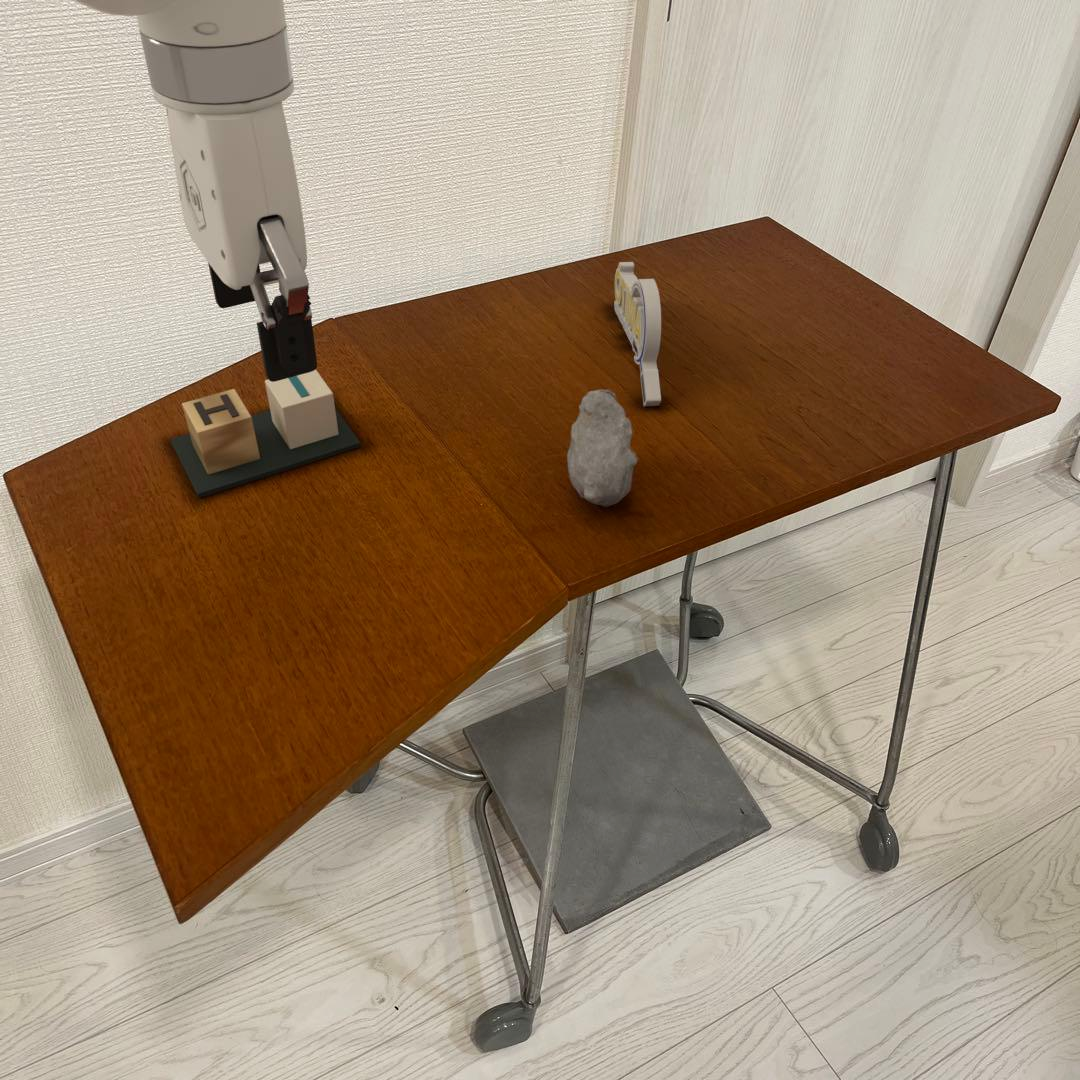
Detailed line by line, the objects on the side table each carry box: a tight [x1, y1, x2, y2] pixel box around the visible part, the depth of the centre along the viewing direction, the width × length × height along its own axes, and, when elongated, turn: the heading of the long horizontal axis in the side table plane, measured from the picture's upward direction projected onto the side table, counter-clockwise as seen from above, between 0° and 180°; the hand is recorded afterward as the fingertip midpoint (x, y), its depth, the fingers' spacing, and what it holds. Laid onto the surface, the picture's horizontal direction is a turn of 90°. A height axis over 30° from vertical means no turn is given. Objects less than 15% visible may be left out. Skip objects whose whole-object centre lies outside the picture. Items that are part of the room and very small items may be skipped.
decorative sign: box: [613, 261, 662, 407], centre depth 96 cm, size 18×1×10 cm, turn 6°
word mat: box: [169, 407, 361, 499], centre depth 86 cm, size 14×8×1 cm, turn 120°
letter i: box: [264, 368, 338, 449], centre depth 86 cm, size 4×4×4 cm
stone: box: [566, 389, 639, 508], centre depth 80 cm, size 9×7×10 cm
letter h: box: [181, 388, 260, 475], centre depth 83 cm, size 4×4×4 cm
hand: (265, 336), depth 66 cm, fingers open, 9 cm apart
